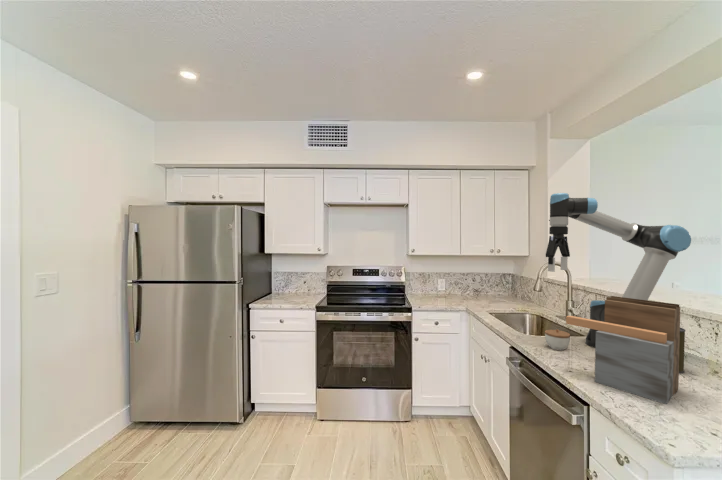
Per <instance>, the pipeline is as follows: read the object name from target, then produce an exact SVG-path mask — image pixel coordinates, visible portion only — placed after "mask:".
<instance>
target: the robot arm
mask: <svg viewBox="0 0 722 480" xmlns="http://www.w3.org/2000/svg"><path fill="white" fill-rule="evenodd" d="M598 204H599V203H598V200H597V199H596V198H593V197H570V196H569V194H568V193H565V192H557V193H553V194H551V195H550V198H549V219H548V221H549V233H548V234H549V237H548V243H547V248H546V251H545V258H547V272H556V269H555V268H556V257H555V255H556V252H557V250H558V249H559V251H560V254H561V255H560V271H568V258H569V257H571V253H570V247H569V243H568V236H567V235H568V233H569V227H568V226H569V218H571V219H574V220H576V221H579V222H582V223H584V224H586V225H589V226H592V227H594V228H596V229H598V230H602V231H605V232H606V233H609V234H612V235H615V236H617V237H619V238H621V239H622V240H623V241H625V242H626V243H629V244H631V245H634V246H637V247H639V248H642V249H643V250H644V253H645V254H643V257H642V259H641V261H640V263H639V265H638V266H637V268H636V269H635V272H634V274H633V276H632V278H631V279H630V281H629V283H628V285H627V287H626V289H625V291H624V293H623V295H622V296H621V297H625V298H633V299H640V300H648V301H649V299H650V297H651V295H652V293H653V291H654V289H655V287H656V286H657V283H658V282H659V279H660V277H661V276H662V275H663V272H664V271H665V268H666V266H667V265H668V263H669V261H672V260H674V259H676V257H677V255H678V254H679V252H683V251H686V250H687V249H688V248H689V247H690V246H691V243H692V237H691V235H690V233H689V231H688V230H687V229H686V228H684V226H680V225H673V224H666V225H643V224H637V223H635V222H632V223H629V222H627V221H623V220H621V219H619V218H616V217H613V216H610V215H608V214H606V213H602V212H600V211H598V206H599V205H598ZM565 235H566V236H565ZM589 319H591V320H597V321H602V322H604V319H605V300H599V299H598V300H597V299H596V300H593V299H592V300H591V301H590V306H589ZM588 329H589V330H588V332H587V335H586V337H585V339H584V340H585V341H584V342H585V345H586V346H590V347H592V348H595V347H596V331H598V330H594V329H590V328H588Z"/></svg>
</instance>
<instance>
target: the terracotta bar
mask: <svg viewBox="0 0 722 480" xmlns="http://www.w3.org/2000/svg"><path fill="white" fill-rule="evenodd" d="M565 324H566V325H571V326H574V327H575V326H576V327H580V328H585V329H594V330H599V331H604V332H609V333H614V334H619V335H624V336H629V337H634V338H639V339H644V340H649V341H654V342H659V343H664V344H665V343H666V342H667V333H662V332H657V331H651V330H646V329H640V328H635V327H629V326H624V325H618V324H613V323H608V322H602V321H597V320H591V319H590V318H585V317H579V316H575V315H567V316H566V317H565Z"/></svg>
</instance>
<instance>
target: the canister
mask: <svg viewBox="0 0 722 480" xmlns="http://www.w3.org/2000/svg"><path fill="white" fill-rule="evenodd" d="M685 332H686V329H685V328H683V327H680V344H679V374H685V346H686V345H685V342H686V341H685V340H686V339H685V337H686V335H685V334H686V333H685Z"/></svg>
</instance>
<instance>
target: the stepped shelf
mask: <svg viewBox="0 0 722 480" xmlns="http://www.w3.org/2000/svg"><path fill="white" fill-rule="evenodd" d="M604 301H605V319H604V322H608V323H613V324H618V325H624V326H629V327H635V328H640V329H646V330H651V331H657V332H662V333H667V342H666V343H665V344H664V343H659V342H654V341H649V340H644V339H639V338H634V337H629V336H624V335H619V334H614V333H609V332H604V331H599V330H598V331H596V347H594V348H595V350H594V351H595V353H594V355H595V357H594V358H595V359H594V383H596V384H597V383H598V384H601V385H603V386H606V387H607V386H608V387H610V388H613V389H616V390H619V391H623V392H626V393H630V394H633V395H635V396H639V397H641V398H646V399H649V400H652V401H654V402H658V403H661V404H665V405H667V404H668V403H669V402H670V401H671V399H672V398H673V397H674V395H675V394H676V393H677V392H678V391H679V385H680V383H679V378H680V377H679V376H680V375H679V374H680V373H679V344H680V328H681V306H680V304H678V303H671V302H662V301H655V300H649V299H648V300H640V299H633V298H625V297H622V296H615V295H610V297H609V296H606V299H604Z"/></svg>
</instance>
